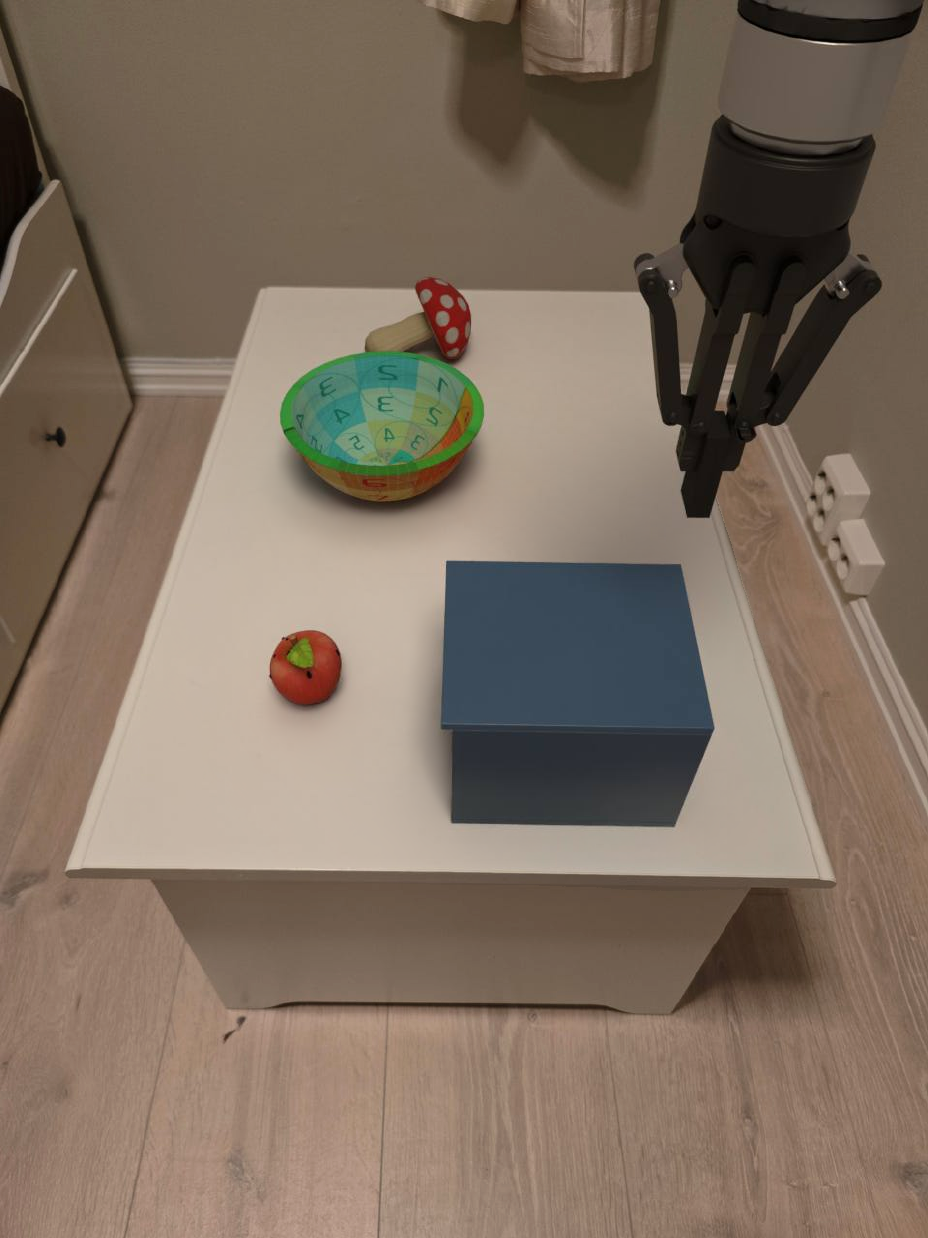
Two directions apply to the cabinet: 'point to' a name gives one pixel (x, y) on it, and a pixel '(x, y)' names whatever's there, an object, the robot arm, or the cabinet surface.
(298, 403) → the bowl
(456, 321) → the decorative mushroom
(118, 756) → the cabinet surface
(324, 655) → the apple
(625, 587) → the lid
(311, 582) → the cabinet surface
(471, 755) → the box
